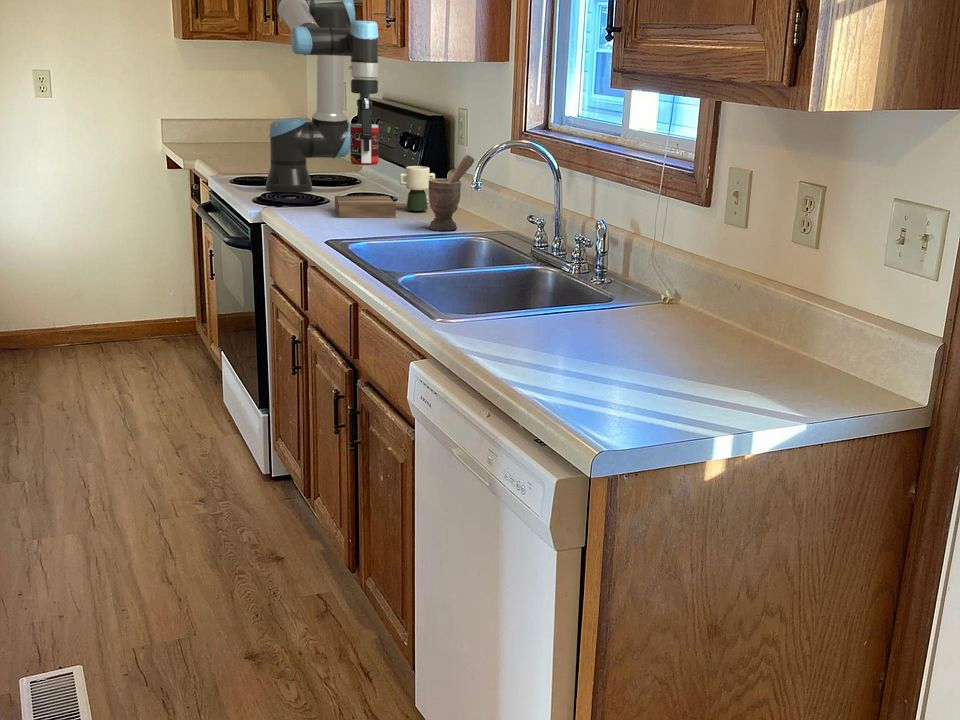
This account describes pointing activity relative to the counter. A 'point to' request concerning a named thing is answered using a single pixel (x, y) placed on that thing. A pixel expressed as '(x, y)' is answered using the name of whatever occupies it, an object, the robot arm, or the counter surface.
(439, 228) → the mortar and pestle
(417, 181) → the character mug
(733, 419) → the counter surface
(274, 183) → the robot arm
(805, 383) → the counter surface
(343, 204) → the walnut base
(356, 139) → the canned food
